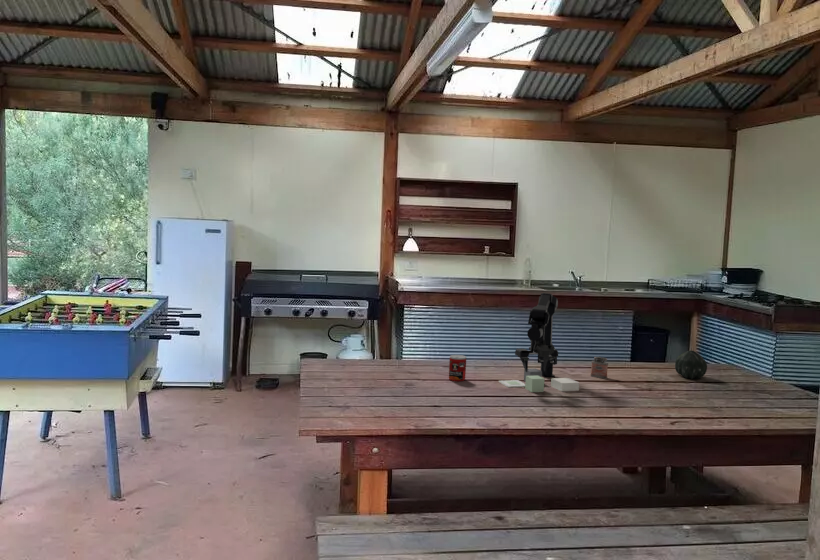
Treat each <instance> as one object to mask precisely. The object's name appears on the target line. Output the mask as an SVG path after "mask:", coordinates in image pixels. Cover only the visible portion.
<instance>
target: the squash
mask: <svg viewBox="0 0 820 560" xmlns="http://www.w3.org/2000/svg"><path fill="white" fill-rule="evenodd" d="M674 369H675V371H676V373H677V374H678V375H680V376H683V378H685V379H691V380H692V379H696V380H699V379H701V378H702V377H704V376H705V375H706V373H707V370H708V364H707V361H706V360H705V357H703V356H702V355H700V354H699V352H696V351H694V350H687V351H685V352H683V353H681V354H680V355H678V356H677V357H676V359H675V364H674Z"/></svg>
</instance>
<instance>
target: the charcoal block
mask: <svg viewBox="0 0 820 560" xmlns="http://www.w3.org/2000/svg"><path fill="white" fill-rule="evenodd" d="M523 369H524V368H523ZM523 371H524V372H523V383H524V382H525V383H526V376H536V375H538V376H540V377H542V378H543V376H542V371H540V369H537V368H528V370H527V372H525V369H524V370H523Z"/></svg>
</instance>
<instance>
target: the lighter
mask: <svg viewBox="0 0 820 560" xmlns="http://www.w3.org/2000/svg"><path fill="white" fill-rule="evenodd" d="M607 361H608V358H607V357H601V356H594V358H593V360H591V368H590V369H591V371H590V377H593V378H599V379H608V365H609V362H607Z"/></svg>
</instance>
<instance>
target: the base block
mask: <svg viewBox="0 0 820 560" xmlns="http://www.w3.org/2000/svg"><path fill="white" fill-rule="evenodd" d="M550 378H551V377H550ZM550 382H551V383H550V387H551V388H553V389H556V390H557V391H559V392H575V391H577V392H578V391H580V382H579V381H577V380H575V379H573V378H570V377H555V378H554V377H552V378H551V381H550Z"/></svg>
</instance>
